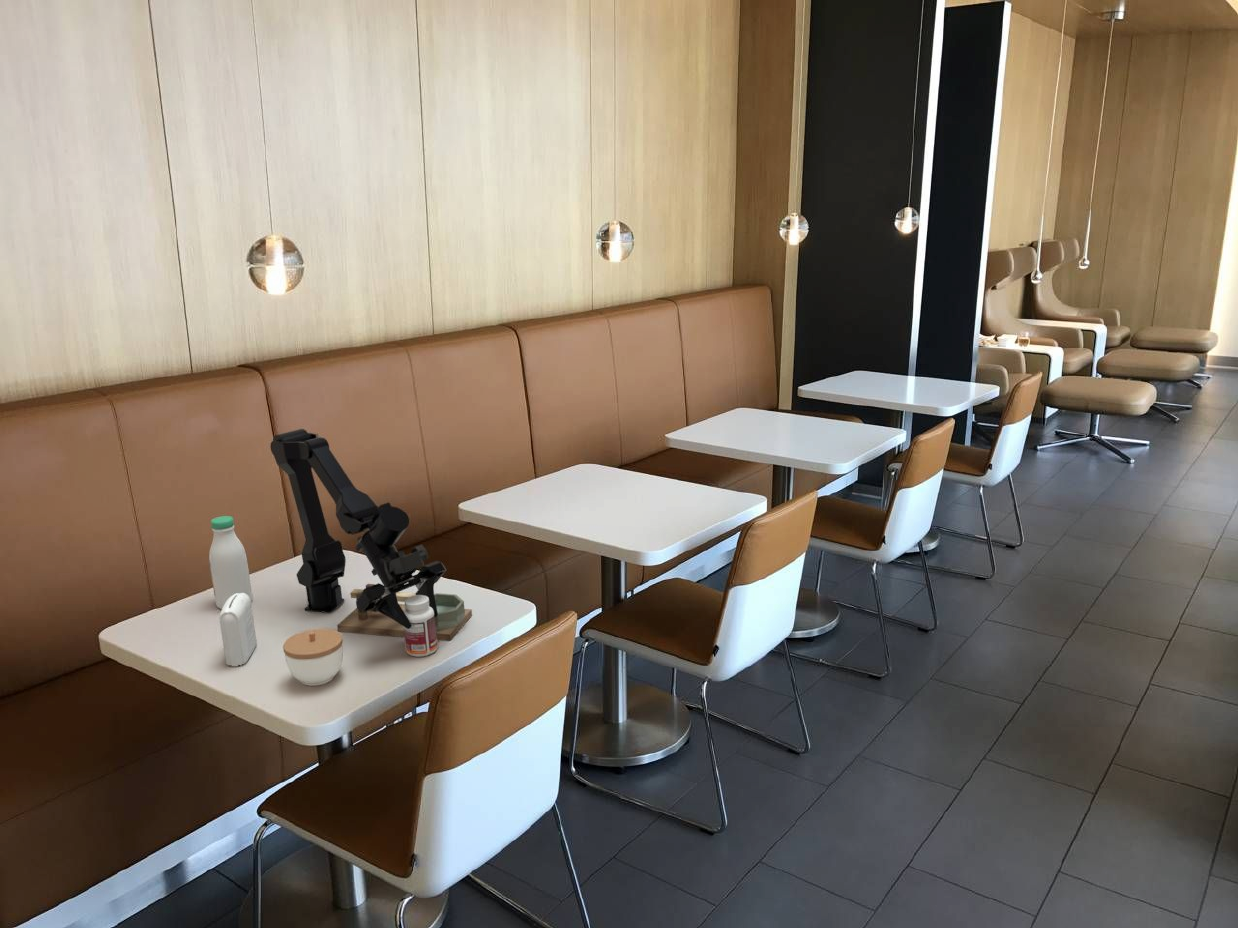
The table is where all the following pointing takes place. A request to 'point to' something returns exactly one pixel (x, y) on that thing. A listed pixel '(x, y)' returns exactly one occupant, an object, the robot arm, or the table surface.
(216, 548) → the milk bottle
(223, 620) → the photo printer
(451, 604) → the catapult arm
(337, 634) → the lidded jar
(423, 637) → the pill bottle
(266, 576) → the table surface
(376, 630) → the catapult base
